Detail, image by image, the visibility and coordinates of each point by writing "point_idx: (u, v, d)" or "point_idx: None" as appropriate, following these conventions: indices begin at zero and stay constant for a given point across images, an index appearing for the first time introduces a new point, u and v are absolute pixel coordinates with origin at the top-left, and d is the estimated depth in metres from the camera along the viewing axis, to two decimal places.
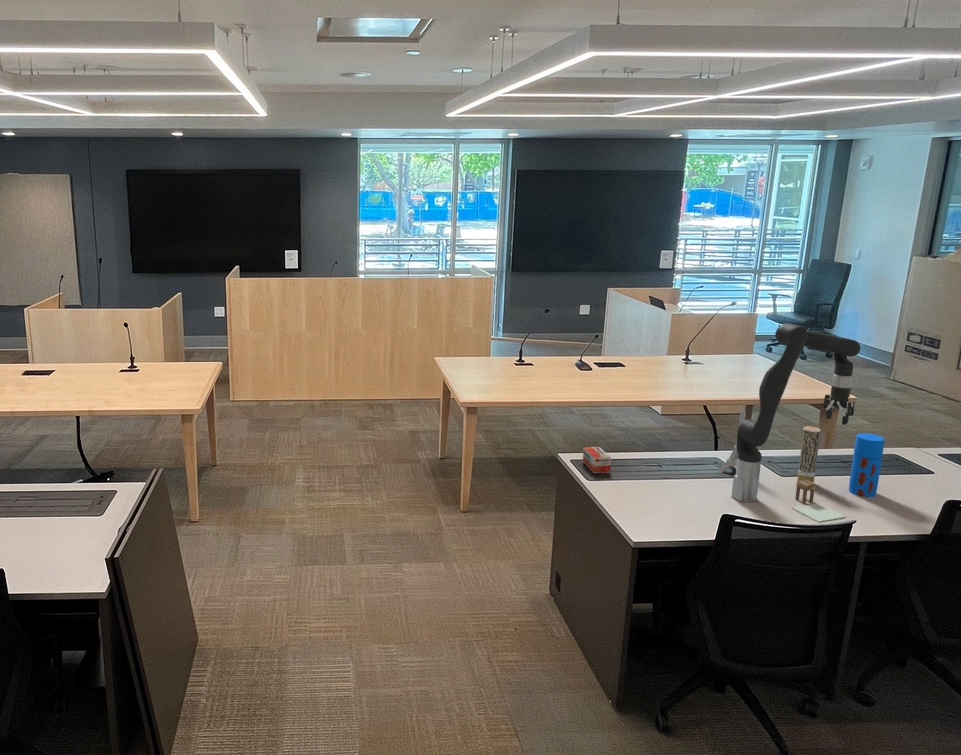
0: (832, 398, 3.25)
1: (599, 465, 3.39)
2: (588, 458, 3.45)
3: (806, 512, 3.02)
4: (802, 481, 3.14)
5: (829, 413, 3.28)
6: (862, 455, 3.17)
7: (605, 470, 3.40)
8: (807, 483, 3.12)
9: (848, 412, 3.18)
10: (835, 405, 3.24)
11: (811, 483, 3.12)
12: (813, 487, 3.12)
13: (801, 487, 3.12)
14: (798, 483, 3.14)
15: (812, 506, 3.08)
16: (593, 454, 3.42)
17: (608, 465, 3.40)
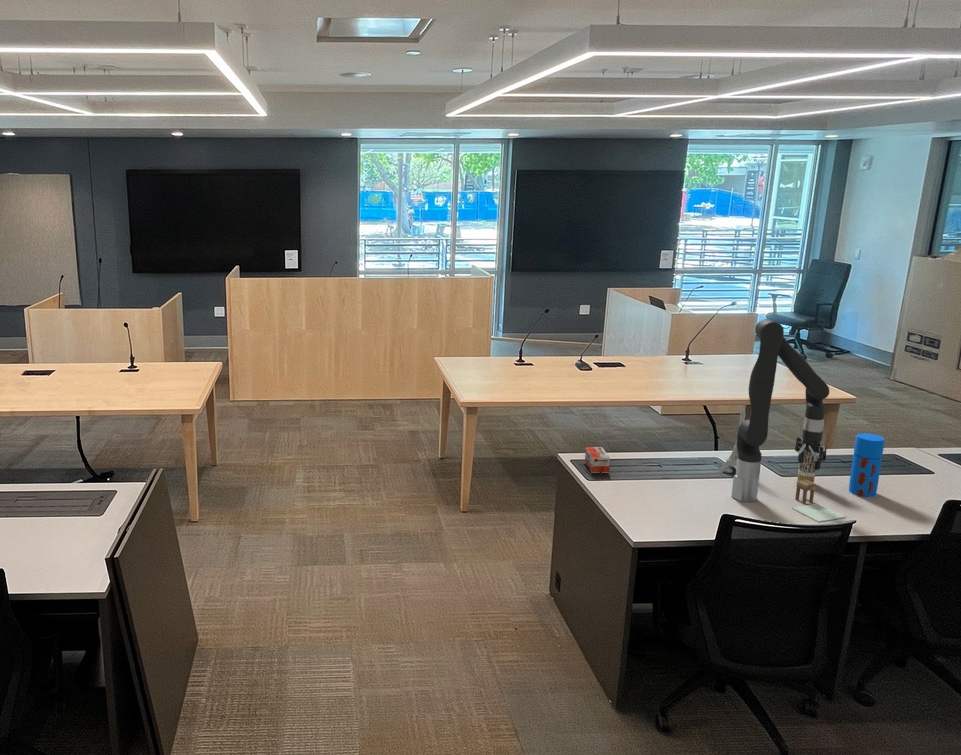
0: (804, 442, 3.11)
1: (598, 465, 3.39)
2: (588, 458, 3.46)
3: (806, 512, 3.02)
4: (802, 481, 3.14)
5: (801, 457, 3.14)
6: (862, 455, 3.17)
7: (604, 470, 3.40)
8: (807, 483, 3.12)
9: (820, 457, 3.04)
10: (807, 449, 3.10)
11: (811, 483, 3.12)
12: (813, 487, 3.12)
13: (801, 487, 3.12)
14: (798, 483, 3.14)
15: (812, 506, 3.08)
16: (593, 454, 3.43)
17: (607, 465, 3.40)
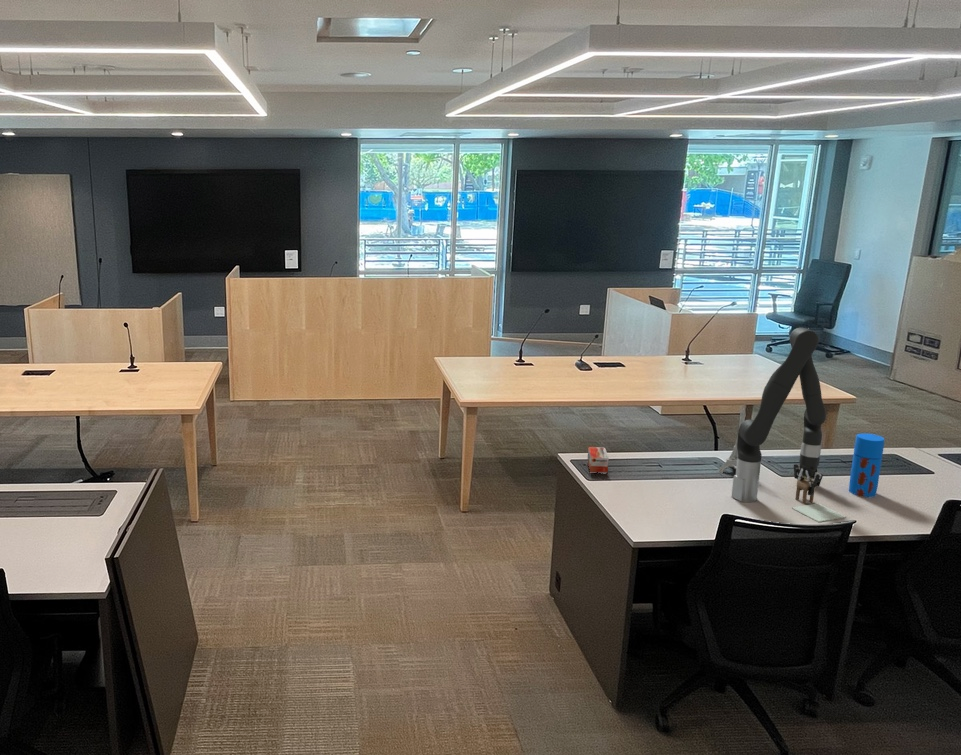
0: (801, 466, 3.14)
1: (596, 465, 3.39)
2: None
3: (806, 512, 3.02)
4: (802, 481, 3.14)
5: None
6: (862, 455, 3.17)
7: (603, 471, 3.40)
8: (807, 483, 3.12)
9: (814, 483, 3.07)
10: (805, 474, 3.12)
11: None
12: None
13: (801, 487, 3.12)
14: (798, 483, 3.14)
15: (812, 506, 3.08)
16: (592, 454, 3.43)
17: (605, 466, 3.39)
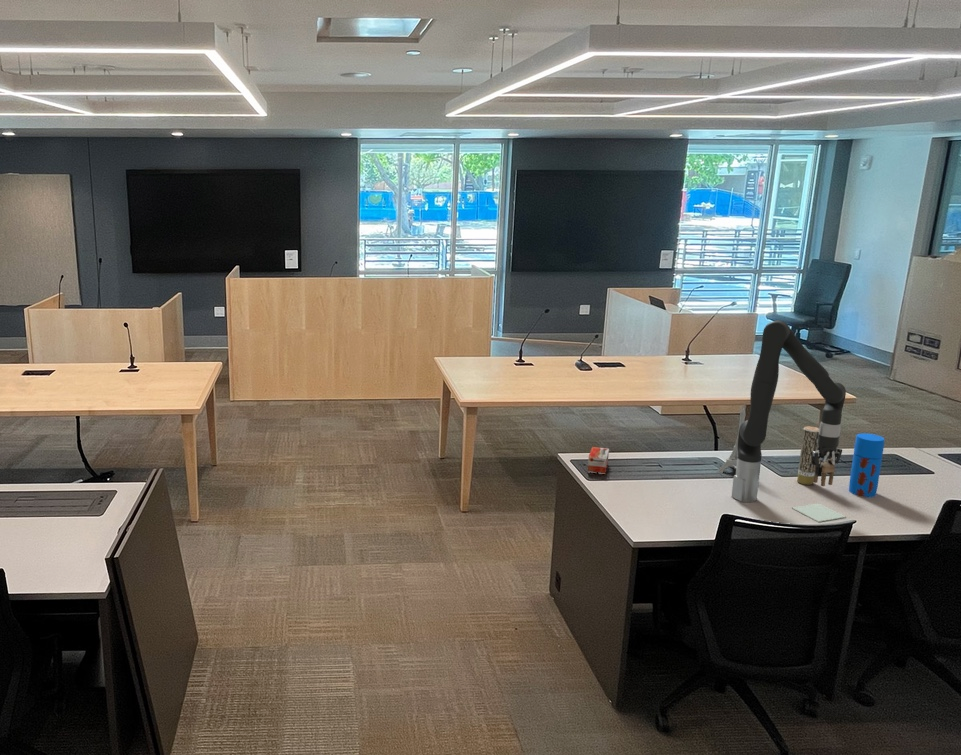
0: None
1: (593, 465, 3.39)
2: None
3: (806, 512, 3.02)
4: (826, 463, 2.99)
5: None
6: (862, 455, 3.17)
7: (600, 471, 3.39)
8: None
9: None
10: None
11: (824, 465, 2.96)
12: (823, 469, 2.96)
13: None
14: None
15: (812, 506, 3.08)
16: (592, 453, 3.43)
17: (603, 466, 3.38)
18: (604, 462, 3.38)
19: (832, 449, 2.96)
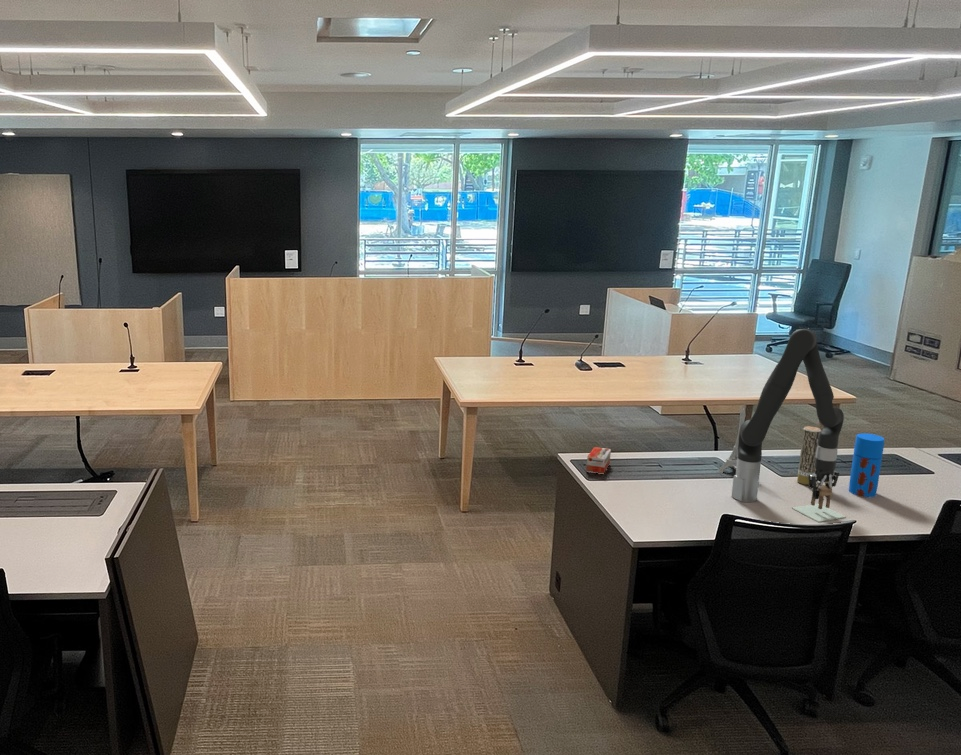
0: None
1: (592, 465, 3.40)
2: None
3: (806, 512, 3.02)
4: (824, 486, 3.01)
5: None
6: (862, 455, 3.17)
7: (599, 471, 3.39)
8: None
9: None
10: None
11: (822, 489, 2.99)
12: (820, 493, 2.98)
13: None
14: None
15: (812, 506, 3.08)
16: (592, 453, 3.43)
17: (601, 466, 3.38)
18: (602, 462, 3.38)
19: (829, 472, 2.98)
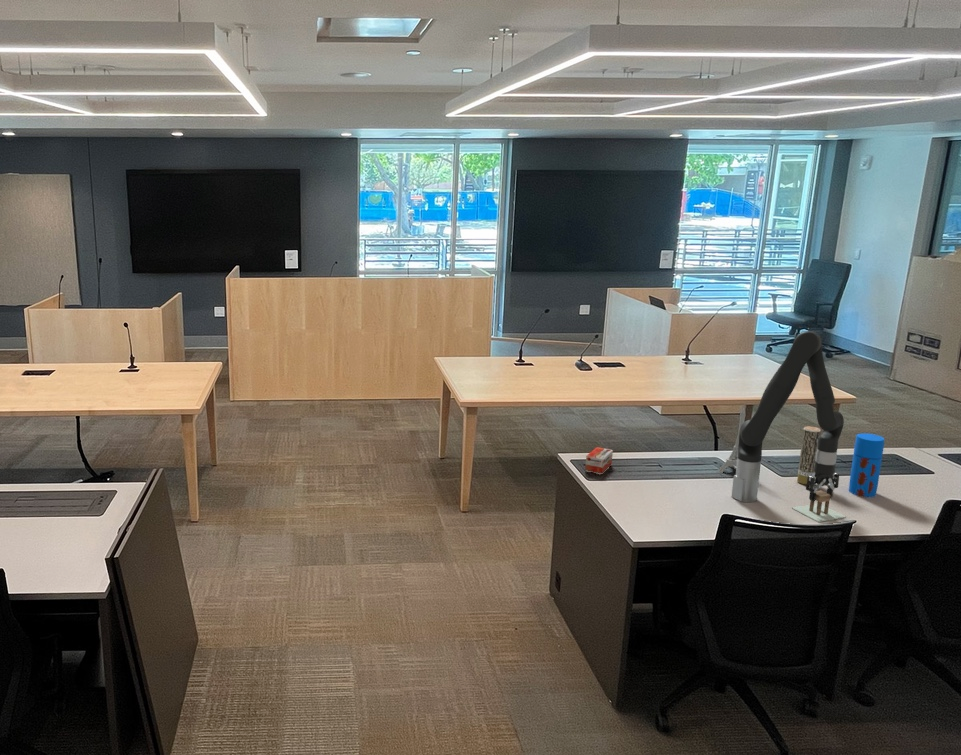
0: None
1: (590, 464, 3.40)
2: None
3: (806, 512, 3.02)
4: (822, 492, 3.02)
5: (828, 491, 3.02)
6: (862, 455, 3.17)
7: (597, 471, 3.39)
8: (818, 493, 3.01)
9: None
10: None
11: (820, 495, 2.99)
12: (818, 499, 2.99)
13: None
14: None
15: None
16: (591, 453, 3.44)
17: (599, 467, 3.38)
18: (601, 462, 3.37)
19: (828, 476, 2.99)
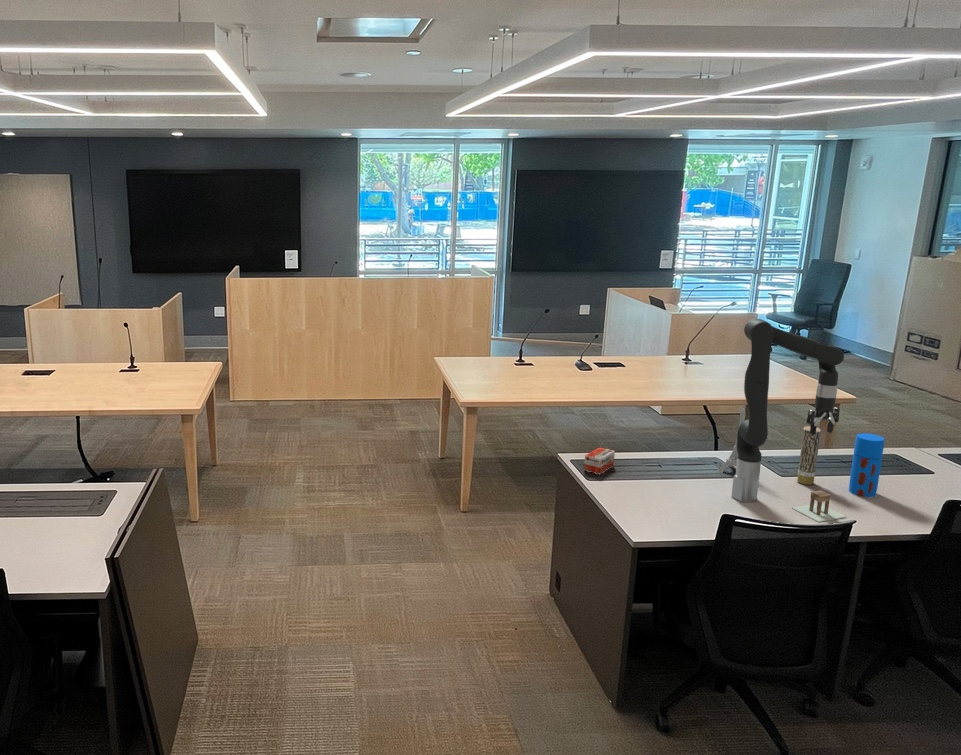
0: None
1: (589, 464, 3.40)
2: None
3: (806, 512, 3.02)
4: (822, 492, 3.02)
5: (828, 426, 3.10)
6: (862, 455, 3.17)
7: (595, 471, 3.39)
8: (818, 493, 3.01)
9: None
10: None
11: (820, 495, 2.99)
12: (818, 499, 2.99)
13: None
14: None
15: None
16: (591, 453, 3.44)
17: (597, 466, 3.38)
18: (599, 462, 3.37)
19: (829, 410, 3.07)
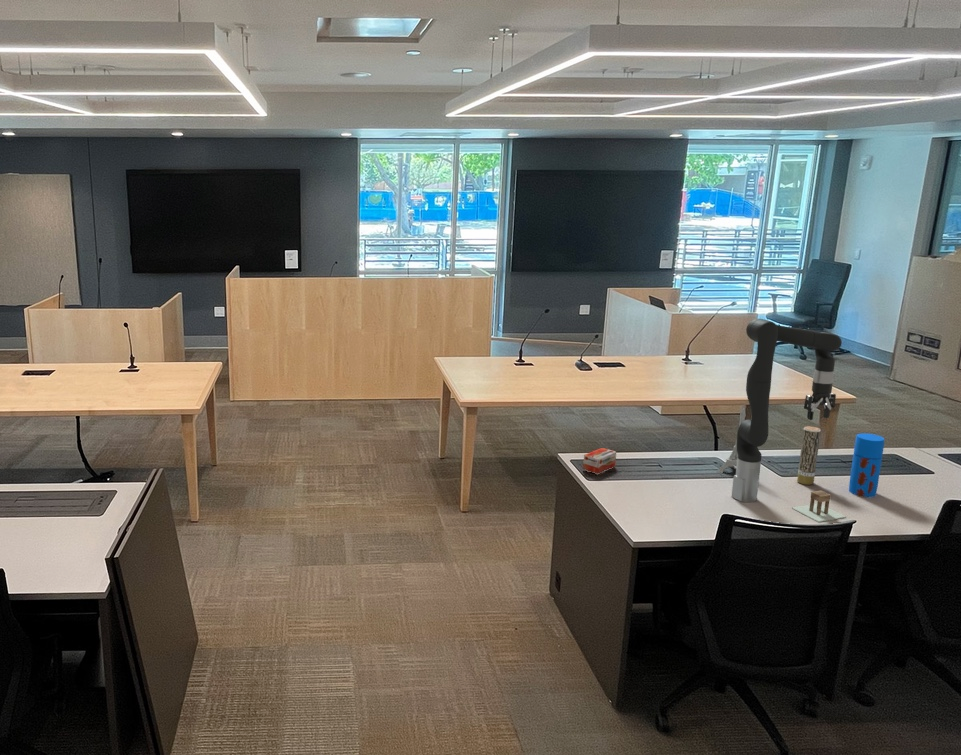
0: None
1: (587, 464, 3.41)
2: None
3: (806, 512, 3.02)
4: (822, 492, 3.02)
5: (825, 411, 3.17)
6: (862, 455, 3.17)
7: (593, 471, 3.39)
8: (818, 493, 3.01)
9: None
10: None
11: (820, 495, 2.99)
12: (818, 499, 2.99)
13: None
14: None
15: None
16: (591, 453, 3.44)
17: (595, 466, 3.38)
18: (596, 462, 3.37)
19: (825, 396, 3.13)
